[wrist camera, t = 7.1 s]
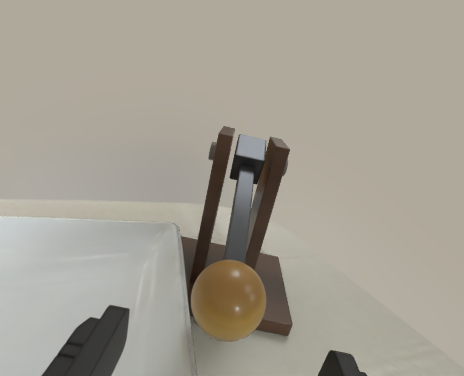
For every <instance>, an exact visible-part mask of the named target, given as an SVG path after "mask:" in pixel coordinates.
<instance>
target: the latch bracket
mask: <svg viewBox="0 0 464 376" xmlns="http://www.w3.org/2000/svg"><path fill="white" fill-rule="evenodd" d="M234 132H235V129H234V128H230V127H225V126H224V127H223V128H222V130H221V131H220V132H219V135H218V139H217V143H215V142H212V144H211V148H210V152H209V160H213V165H212V170H211V175H210V180H209V186H208V191H207V196H206V200H205V206H204V211H203V216H202V221H201V226H200V231H199V236H198V240H196V239H191V238H187V237H182V236H181V241H182V248H183V256H184V266H185V276H186V285H187V295H188V305H189V313H190V316H192V317H194V316H193V313H192V308H191V293H192V289H193V286H194V283H195V281H196V279H197V278H198V276H199V275H200V273H201V272H202V271H203V270H204V269H205V268H207V267H208V266H209V265H211V264H213V263H215V262H218V261H222V260H223V258H224V252H225V246H224V245H220V244H215V243H211V238H212V234H213V229H214V224H215V220H216V215H217V211H218V206H219V201H220V196H221V192H222V187H223V183H224V178H225V173H226V168H227V164H228V160H229V155H230V151H231V146H232V141H233V137H234ZM289 151H290V149H289V148H288V147H287V145H286V144H285V143H284V142H283V141H282V139H278V138H274V137H270V140H269V143H268V147H267V151H266V155H265V163H264V166H263V169H262V171H261V174H260V177H259V181H258V186H257V189H256V193H255V196H254V200H253V204H252V208H251V212H250V221H249V231H248V240H247V250H246V259H245V264H247V265H248V266H250V267H251V268H252V269H253V270H254V271H255V272H256V273H257V274H258V276H259V277H260V279H261V281H262V283H263V285H264V288H265V293H266V309H265V313H264V316H263V318H262V320H261V322H260V324H259V325H258V327H257V328H256V330H261V331H266V332H271V333H276V334H281V335H286V336H288V335H289V332H290V330H291V327H292V320H291V316H290V311H289V306H288V301H287V297H286V292H285V287H284V282H283V278H282V273H281V268H280V263H279V259H278V257H276V256H271V255H267V254H262V253H260V250H261V247H262V243H263V240H264V236H265V233H266V230H267V226H268V223H269V219H270V216H271V213H272V209H273V206H274V202H275V199H276V196H277V192H278V189H279V186H280V182H281V179H282V176H284V175H285V173H286V170H287V166H288V159H287V158H288V155H289Z"/></svg>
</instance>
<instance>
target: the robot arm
mask: <svg viewBox="0 0 464 376" xmlns="http://www.w3.org/2000/svg"><path fill="white" fill-rule="evenodd" d="M129 314H130V309H129V308H124V307H119V306H114V305H109V306H108V307H107V309H106V310H105V312H104V313H103V315H102V316H101V318H100V319H98V318H93V317H90V318H88V319H87V320H86V321H84V322H83V323H82V324H80V325H79V326H78V327H76V329H75V330H74V331H73V333H72V334H71V336H70V337H69V338H68V340H67V341H66V344H64V345H63V347H62V348H61V349H60V351H59V352H58V355H57V356H55V358H54V359H53V361H52V362H51V363H50V365H49V366H48V367H47V369H46V370H45V372H44V373H43V374H42V376H112V374H113V371H114V369H115V367H116V365H117V363H118V361H119V359H120V357H121V354H122V352H123V349H124V347H125V343H126V339H127V333H128V323H129ZM318 376H367V375H366V373H364V372H360V371H359V369H358V366H357V364H356V362H355V359H354V357H353V356H352V355H351V354H348V353H343V352H338V351H333V350H331V351H329V353H328V355H327V357H326V359H325V361H324V363H323V366H322V368H321V370H320V372H319V374H318Z"/></svg>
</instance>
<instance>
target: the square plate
mask: <svg viewBox="0 0 464 376" xmlns="http://www.w3.org/2000/svg"><path fill="white" fill-rule="evenodd" d="M109 305H114V306H119V307H124V308H129V309H130V314H129V323H128V333H127V339H126V343H125V347H124V349H123V352H122V354H121V357H120V359H119V361H118V363H117V365H116V367H115V369H114V371H113V374H112V376H198V375H197V368H196V361H195V354H194V345H193V337H192V329H191V321H190V313H189V305H188V295H187V285H186V276H185V266H184V256H183V248H182V241H181V235H180V230H179V227H178V226H177V225H176V224H174V223H170V222H153V221H127V220H103V219H78V218H55V217H28V216H0V376H42V374H43V373H44V372H45V370H46V369H47V367H48V366H49V365H50V363H51V362H52V361H53V359H54V358H55V356H57V355H58V352H59V351H60V349H61V348H62V347H63V345H64V344H66V341H67V340H68V338H69V337H70V336H71V334H72V333H73V331H74V330H75V329H76V327H78V326H79V325H80V324H82V323H83V322H84V321H86V320H87V319H88V318H90V317H93V318H98V319H100V318H101V316H102V315H103V313H104V312H105V310H106V309H107V307H108V306H109Z"/></svg>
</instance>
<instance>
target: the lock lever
mask: <svg viewBox="0 0 464 376" xmlns="http://www.w3.org/2000/svg"><path fill="white" fill-rule="evenodd" d="M265 151H266V140H264V139H259V138H255V137H250V136H246V135H242V134H240V135H239V137H238V141H237V146H236V150H235V155H234V159H233V164H232V169H231V174H230V179H234V180H237V183H236V189H235V195H234V201H233V206H232V212H231V218H230V223H229V229H228V235H227V241H226V246H225V252H224V258H223V260H222V261H218V262H215V263H213V264H211V265H209V266H208V267H207V268H205V269H204V270H203V271H202V272H201V273H200V275H199V276H198V278H197V279H196V281H195V283H194V286H193V289H192V293H191V308H192V313H193V316H194V318H195V320H196V322H197V324H198V325H199V327H200V328H201V329H202V330H203V331H204V332H205V333H206V334H207V335H209V336H210V337H212V338H214V339H216V340H220V341H225V342H232V341H237V340H240V339H243V338H245V337H247V336H248V335H250V334H251V333H252V332H253V331H254V330H255V329H256V328H257V327H258V325H259V324H260V322H261V320H262V318H263V316H264V313H265V309H266V293H265V288H264V285H263V283H262V281H261V279H260V277H259V276H258V274H257V273H256V272H255V271H254V270H253V269H252V268H251V267H250V266H248V265H247V264H245V259H246V250H247V240H248V231H249V221H250V212H251V202H252V192H253V184H257V183H258V180H259V177H260V174H261V171H262V169H263V166H264V163H265Z"/></svg>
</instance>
